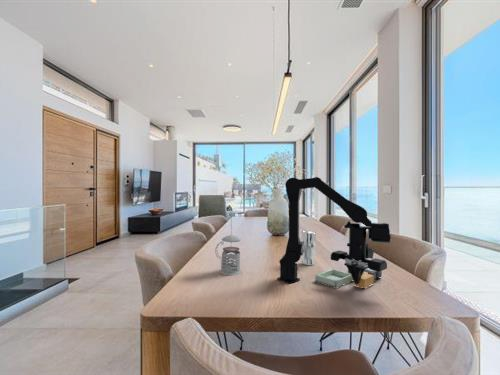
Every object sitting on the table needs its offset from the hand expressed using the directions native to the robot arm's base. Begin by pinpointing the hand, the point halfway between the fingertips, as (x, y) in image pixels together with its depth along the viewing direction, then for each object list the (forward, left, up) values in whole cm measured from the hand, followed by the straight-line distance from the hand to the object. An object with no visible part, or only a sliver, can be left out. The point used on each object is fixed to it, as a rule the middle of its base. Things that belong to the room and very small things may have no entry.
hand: (356, 283), depth 97 cm
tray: (0, +9, -2) cm, 9 cm away
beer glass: (+11, +30, -2) cm, 32 cm away
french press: (-25, +44, -2) cm, 51 cm away
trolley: (+14, +4, -2) cm, 15 cm away
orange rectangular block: (+5, 0, -2) cm, 5 cm away
